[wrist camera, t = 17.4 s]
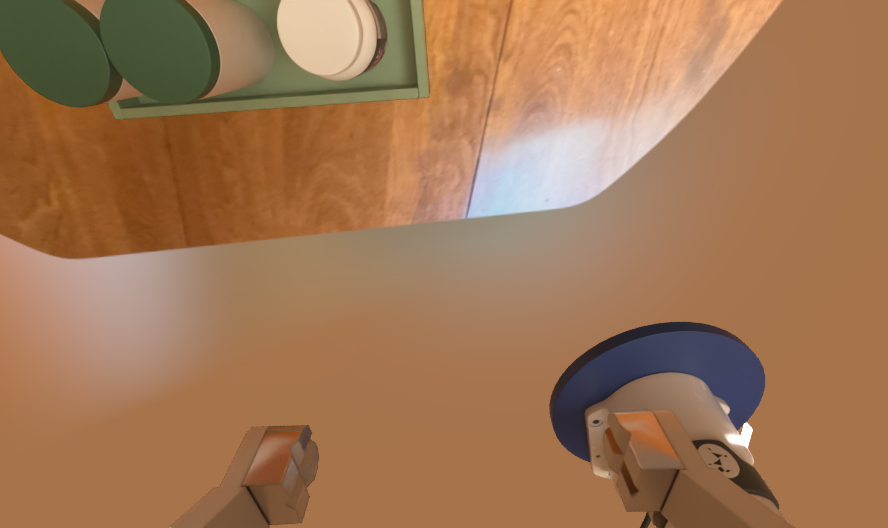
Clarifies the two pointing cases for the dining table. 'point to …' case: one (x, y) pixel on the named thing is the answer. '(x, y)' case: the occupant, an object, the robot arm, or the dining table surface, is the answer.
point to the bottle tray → (296, 87)
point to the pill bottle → (333, 36)
